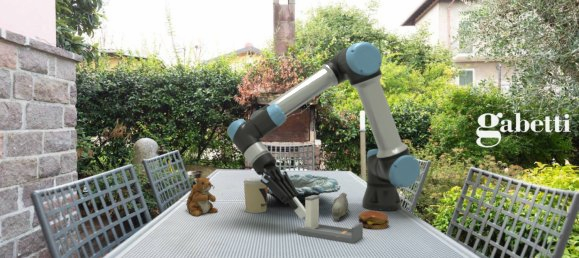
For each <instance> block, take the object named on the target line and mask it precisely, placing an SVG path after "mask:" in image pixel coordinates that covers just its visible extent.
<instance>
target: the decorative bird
mask: <svg viewBox="0 0 579 258" xmlns="http://www.w3.org/2000/svg"><path fill="white" fill-rule="evenodd" d="M348 212H350V209H349V201H348V198H347V193H345V192H341V193H340V194H339V196H338V197H336V198H335V199H334V200H333V203H332V208H331V214H332V216H333V220H334V221H335V222H336V221H337V222H338V221H339V220H340V218H341V217H344V216H345V215H346V214H347V213H348Z"/></svg>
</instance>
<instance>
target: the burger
mask: <svg viewBox="0 0 579 258" xmlns="http://www.w3.org/2000/svg"><path fill="white" fill-rule="evenodd" d="M388 219H389V218H388V216H387V214H385V213H383V212H381V211H378V210H366V211H365V210H364V211H362V212H361V213H359V214H358V221H359V222H358V224H359V223H363V228H366V229H372V230H384V229H386V228H387V227H388V225H389V223H390V221H389V220H388Z"/></svg>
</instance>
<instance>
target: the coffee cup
mask: <svg viewBox="0 0 579 258" xmlns="http://www.w3.org/2000/svg"><path fill="white" fill-rule="evenodd" d="M262 178H263V177H247V178H244V180H243V183H244V185H243V186H244V189H243V190H244V202H245V203H244V204H245V205H244V206H245V212H247V213H250V214H261V213H262V214H263V213H265V212H266V211H267V203H268V189H269V188H268V187H267V186H266V185H265V184H263V183H262V182H261V181H260V180H261V179H262Z"/></svg>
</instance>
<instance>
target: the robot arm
mask: <svg viewBox="0 0 579 258" xmlns="http://www.w3.org/2000/svg"><path fill="white" fill-rule="evenodd" d="M382 63H383V59H382V53H381V51H380V50H379V49H378V47H377V46H376V45H374V44H373V43H371V42H368V41H362V42H357V43H356V42H355V43H354V44H352V45H349V46H347V47H345V48H343V49H341V50H339V52H337V53H336V54H335V55H334V56H333V57H331V58H330V59H329V60H327V61H325V63H323V64H322V65H321V69H318V71H316V72H314V73H313V74H312V75H310V76H308V77H307V78H305V79H304V80H302V81H300V82H299V83H298V84H296V85H295V86H292V87H291V88H289V90H287V91H286V92H283V94H281V95H279V96H278V97H276V98H274V100H272V101H270V102H269V103H268V104H266V105H264V106H262V107H261V108H259V109H258V110H255V111H254V112H252V114H251V116H250V119H249V120H245V119H243V118H239V119H237V120H234V121H232V122H231V123H230V124H229V126H228V127H227V131H226V132H227V133H226V134H227V136H228V137H229V138H230V140H231V141H232V143H233V144H234V146H236V148H237V149H238V151H239V152H240V153H241V154H242V156H243V157H244V158H245V159H246V161H247V162H248V163H249V165H250V166H251V167H252V169H253V170H254V171H255V173H256V174H257V175H258V176H262V177H261V178H262V179H261V180H260V181H261V182H262V183H263V184H265V185H266V186H267V187H268V189H269V191H271V192H272V193H273V194H274V196H276V197H277V198H278V199H279V201H281V202H282V203H283V205H289V206H290V207H291V208H292V210H293V211H294V213H295V214H296V215H297V217H298V218H299V219H300V220H303V219H305V205H303V203H301V201H300V200H299V198H297V197H298V196H299V192H298V190H297V188H296V187H295V185H294V184H293V182H292V181H291V178H290V177H289V175H288V171H286V170H284V171H281V170H280V168H278V167H277V166H276V164H277V160H276V158H275V157H274V155H272V153H271V152H270V151H269V149H268V148H267V147H266V146H265V144H264V143H263V141H262V139H263V138H264V137H266V136H267V135H269V134H270V133H272V132H273V131H274V130H276V129H277V128H279V127H281V125H283V124H284V123H286V121H287V116H288V115H290V114H291V113H293V112H294V111H296V110H298V109H299V108H301V107H302V106H303V105H305V104H307V103H308V102H310V101H312V100H313V99H314V98H317V96H319V95H320V94H322V93H323V92H325V91H326V90H328V89H329V88H331V87H332V86H333V87H337V86H338V85H340V84H342V83H344V82H346V81H349V82H348V83H349V84H350V87H352V88H353V89H356V91H357V93H358V97H359V99H360V102H361V104H362V107H363V109H364V113H365V115H366V118H367V122H368V124H369V126H370V130H371V132H372V134H373V137H374V140H375V142H376V146H377V148H375V149H373V148H372V149H370V150H368V151H367V155H366V189H365V192H364V195H363V197H362V200H361V201H362V202H361V206H362V207H363V208H364V209H368V210H371V211H383V212H384V211H385V212H386V211H387V212H388V211H397V210H401V208H402V201H401V197H400V194H399V190H398V188H408V187H411V186H412V185H414V184H415V183H416V182H417V181H418V180H419V177H420V174H421V165H420V162H419V160H418V159H417V158H416V157H415V156H413V155H411V152H410V149H409V147H408V144H405V143H403V141H402V139H401V137H400V134H399V131H398V128H397V126H396V122H395V120H394V118H393V117H394V116H393V115H392V112H391V108H390V106H389V104H388V103H389V102H388V101H387V97H386V95H385V91H384V89H383V86H382V84H381V78H382V76H383V72H382V70H381V65H382Z"/></svg>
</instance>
